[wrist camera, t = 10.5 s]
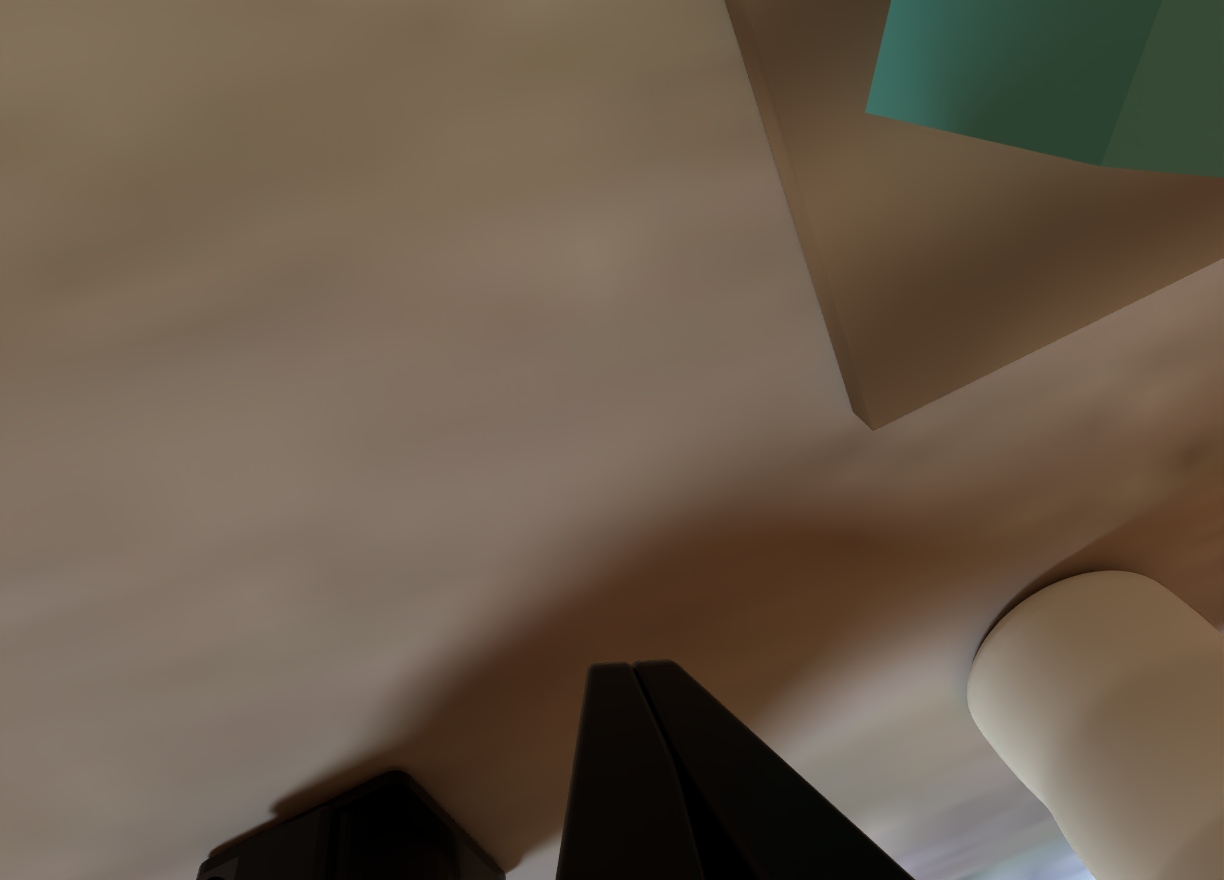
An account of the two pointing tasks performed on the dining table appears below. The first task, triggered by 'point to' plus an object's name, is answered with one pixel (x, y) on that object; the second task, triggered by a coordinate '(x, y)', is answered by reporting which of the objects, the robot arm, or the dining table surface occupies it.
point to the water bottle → (1113, 722)
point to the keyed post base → (947, 218)
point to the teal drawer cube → (1063, 77)
